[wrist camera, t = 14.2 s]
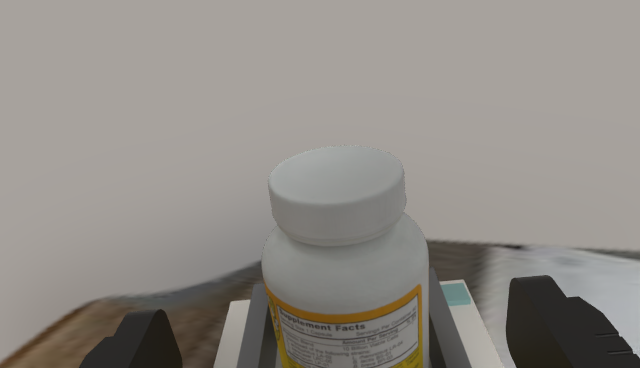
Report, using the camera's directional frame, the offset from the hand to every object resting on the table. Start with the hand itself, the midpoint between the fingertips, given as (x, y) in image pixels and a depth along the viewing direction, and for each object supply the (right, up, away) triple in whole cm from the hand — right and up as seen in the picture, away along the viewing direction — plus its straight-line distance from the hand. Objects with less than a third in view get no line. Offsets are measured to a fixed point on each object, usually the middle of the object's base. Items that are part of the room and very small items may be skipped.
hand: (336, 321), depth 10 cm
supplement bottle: (+1, -5, +7) cm, 9 cm away
